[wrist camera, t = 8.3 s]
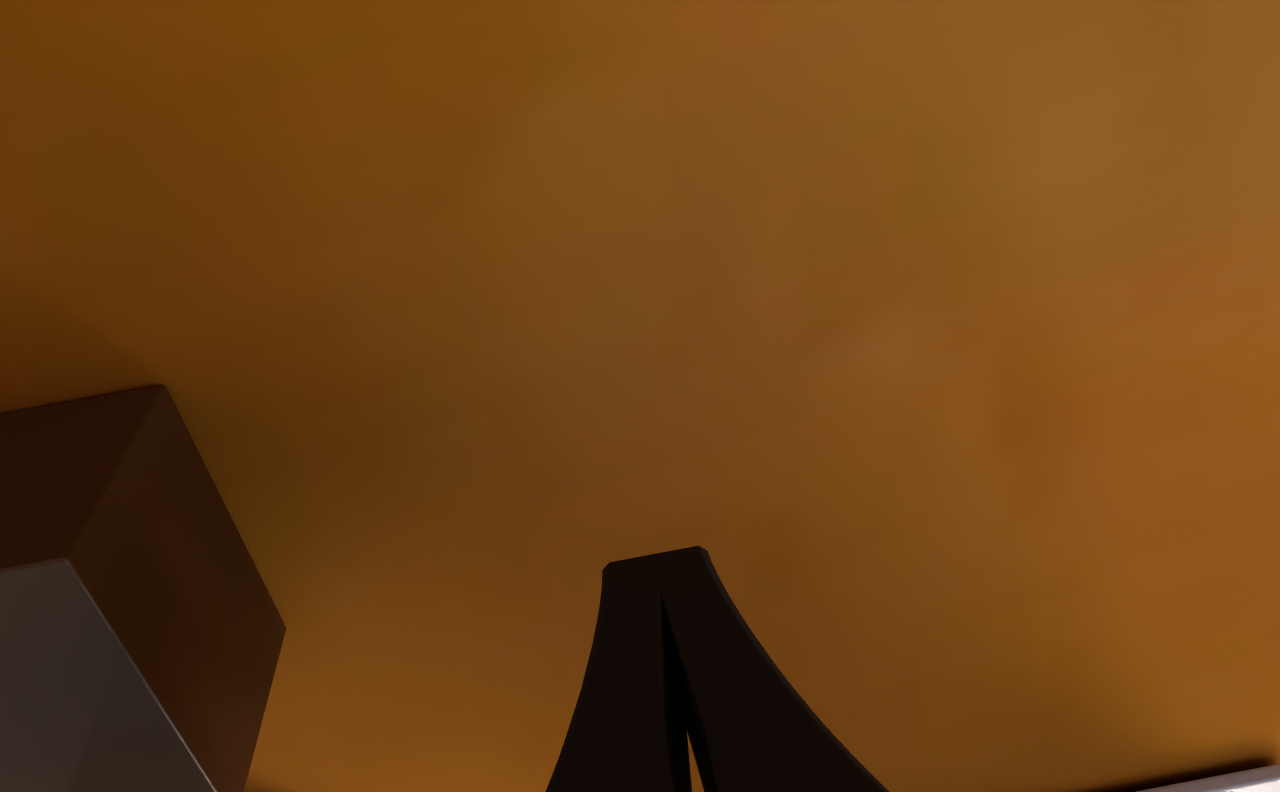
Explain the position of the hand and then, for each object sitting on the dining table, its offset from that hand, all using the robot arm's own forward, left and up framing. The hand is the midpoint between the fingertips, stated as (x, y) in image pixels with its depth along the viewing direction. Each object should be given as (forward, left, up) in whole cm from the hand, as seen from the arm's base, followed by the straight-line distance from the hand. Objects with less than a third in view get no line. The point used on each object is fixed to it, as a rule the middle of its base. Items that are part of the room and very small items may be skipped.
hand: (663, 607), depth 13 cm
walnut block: (0, +10, -4) cm, 10 cm away
